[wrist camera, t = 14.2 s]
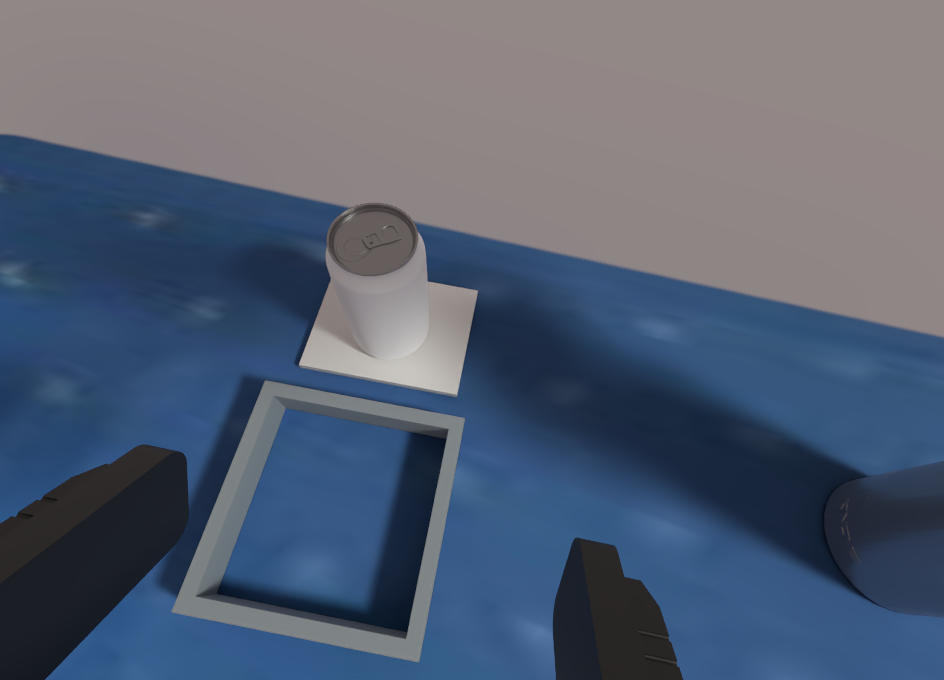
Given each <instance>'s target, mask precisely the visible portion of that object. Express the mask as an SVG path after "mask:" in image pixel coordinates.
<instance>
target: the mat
mask: <svg viewBox="0 0 944 680" xmlns="http://www.w3.org/2000/svg"><path fill="white" fill-rule="evenodd" d="M477 294H478V291H477V290H471V289H466V288H460V287H455V286H449V285H444V284H439V283H433V282H428V301H429V331H428V334H427V337H426V339H425V341H424V342H423V344H422V345H421V346H420V347H419V348H418V349H417V350H416V351H414V352H413V353H411V354H410V355H408V356H405V357H403V358H399V359H392V360H386V359H379V358H376V357H373V356H371V355H369V354H367V353H366V352H365V351H364V350H362V349H361V347H360V346H359V345H358V344H357V342H356V341H355V339H354V337H353V334H352V332H351V329H350V327H349V324H348V322H347V319H346V317H345V314H344V311H343V309H342V306H341V304H340V301H339V298H338V296H337V293H336V290H335V288H334V285H333V282H332V280H331V281H330V283H329V286H328V289H327V291H326V294H325V297H324V299H323V302H322V305H321V307H320V310H319V313H318V315H317V318H316V321H315V323H314V326H313V329H312V331H311V334H310V337H309V339H308V342H307V345H306V347H305V350H304V352H303V355H302V358H301V360H300V363H299V366H300V367H301V368H305V369H310V370H315V371H321V372H326V373H331V374H337V375H342V376H347V377H352V378H358V379H363V380H368V381H374V382H379V383H384V384H390V385H395V386H400V387H405V388H411V389H416V390H421V391H427V392H432V393H437V394H443V395H448V396H453V397H457V393H458V388H459V383H460V378H461V373H462V369H463V364H464V359H465V354H466V349H467V344H468V339H469V334H470V329H471V324H472V319H473V314H474V309H475V304H476V299H477Z"/></svg>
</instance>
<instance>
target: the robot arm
mask: <svg viewBox="0 0 944 680" xmlns="http://www.w3.org/2000/svg"><path fill="white" fill-rule="evenodd" d="M188 516H189V505H188V481H187V461H186V457H185V455H184V454H183V453H181V452H178V451H174V450H169V449H164V448H160V447H155V446H150V445H139V446H137V447H135V448H133V449H132V450H130V451H129V452H128V453H126V454H125V455H123V456H122V457H120V458H119V459H117V460H116V461H114V462H113V463H111V464H110V465H108V464H104V465H102V466H99V467H97V468H94V469H92V470H89V471H87V472H84V473H82V474H79V475H77V476H74V477H72V478H70V479H69V480H67V481H65V482H64V483H62V484H61V485H59V486H58V487H56V488H55V489H53V490H52V491H50V492H48V493H47V494H45V495H44V496H43V498H42V499H41V500H40V501H39V500H36V501H35V502H33V503H32V504H30V505H28V506H27V507H25V508H24V509H22V510H21V511H19V512H18V515H17V516H16V517H12V516H11V517H10V518H8V519H7V520H5V521H4V522H2V523H1V524H0V680H45V679H46V678H47V677H48V676H49V675H50V674H51V673H52V672H53V671H54V670H55V669H56V668H57V667H58V666H59V665H60V663H61V662H62V661H63V660H64V659H65V658H66V657H67V656H68V655H69V654H70V653H71V652H72V651H73V650H74V649H75V648H76V647H77V646H78V645H79V644H80V643H81V642H82V641H83V640H84V639H85V638H86V637H87V636H88V634H89V633H90V632H91V631H92V630H93V629H94V628H95V627H96V626H97V625H98V624H99V623H100V622H101V621H102V620H103V619H104V618H105V617H106V616H107V615H108V614H109V613H110V612H111V611H112V610H113V609H114V608H115V607H116V606H117V604H118V603H119V602H120V601H121V600H122V599H123V598H124V597H125V596H126V595H127V594H128V593H129V592H130V591H131V590H132V589H133V588H134V587H135V586H136V585H137V584H138V583H139V582H140V581H141V580H142V579H143V578H144V577H145V575H146V574H147V573H148V572H149V571H150V570H151V569H152V568H153V567H154V566H155V565H156V564H157V563H158V562H159V561H160V560H161V559H162V558H163V557H164V556H165V555H166V554H167V553H168V552H169V551H170V550H171V549H172V548H173V546H174V545H175V544H176V543H177V542H178V540H179V539H180V537H181V535H182V533H183V532H184V529H185V527H186V524H187V521H188ZM824 530H825V535H826V539H827V543H828V546H829V548H830V551H831V553H832V555H833V557H834V560H835V561H836V563H837V564H838V566H839V568H840V569H841V571H842V572H843V574H844V575H845V576H846V577H847V578H848V580H849V581H850V582H851V583H852V584H853V585H854V587H856V588H857V589H858V590H859V591H860V592H861V593H863V594H864V595H865V596H866V597H867V598H869V599H870V600H872V601H874V602H875V603H877V604H878V605H880V606H882V607H885V608H887V609H889V610H892V611H894V612H899V613H905V614H912V615H921V616H931V617H941V618H944V461H943V462H938V463H933V464H928V465H924V466H919V467H914V468H909V469H904V470H899V471H894V472H889V473H884V474H880V475H875V476H870V477H865V478H860V479H856V480H852V481H849V482H846V483H844V484H842V485H841V486H839V487H837V488H836V490H835V491H834V492H833V493H832V494H831V495H830V497H829V500H828V502H827V504H826V508H825V513H824ZM668 638H669V635H668V632H667V628H666V625H665V622H664V619H663V616H662V613H661V610H660V607H659V606H658V604H657V603H656V601H655V600H654V599H653V597H652V596H651V594H650V593H649V592H648V590H647V589H646V587H645V586H644V585H643V583H642V582H641V581H640V580H635V579H631V578H626V577H624V574H623V570H622V567H621V563H620V559H619V555H618V552H617V549H616V547H615V546H613V545H609V544H604V543H600V542H595V541H590V540H586V539H581V538H575V539H574V541H573V543H572V546H571V549H570V552H569V556H568V559H567V562H566V565H565V569H564V572H563V575H562V578H561V582H560V585H559V588H558V592H557V595H556V599H555V605H554V613H553V640H554V655H555V669H556V680H683V678H682V675H681V672H680V668H679V667H677V659H676V656H675V653H674V650H673V647H672V644H671V642H670V641H669V639H668Z"/></svg>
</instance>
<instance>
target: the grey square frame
mask: <svg viewBox="0 0 944 680" xmlns="http://www.w3.org/2000/svg"><path fill="white" fill-rule="evenodd" d="M286 408H288V409H293V410H298V411H303V412H309V413H314V414H319V415H324V416H330V417H335V418H340V419H345V420H351V421H356V422H361V423H366V424H371V425H377V426H382V427H387V428H392V429H398V430H403V431H408V432H413V433H419V434H424V435H429V436H434V437H440V438H445V439H447V440H446V445H445V450H444V455H443V460H442V465H441V470H440V475H439V480H438V485H437V489H436V494H435V499H434V504H433V509H432V514H431V519H430V524H429V529H428V534H427V539H426V544H425V549H424V553H423V558H422V563H421V568H420V573H419V578H418V583H417V588H416V593H415V598H414V603H413V608H412V612H411V617H410V622H409V627H408V632H404V631H399V630H394V629H389V628H384V627H379V626H374V625H369V624H364V623H359V622H354V621H349V620H344V619H339V618H334V617H329V616H324V615H319V614H314V613H309V612H304V611H299V610H294V609H289V608H284V607H279V606H274V605H270V604H265V603H260V602H255V601H250V600H245V599H240V598H235V597H230V596H225V595H220V594H217V592H218V589H219V586H220V584H221V581H222V578H223V576H224V573H225V570H226V568H227V565H228V562H229V559H230V557H231V554H232V551H233V549H234V546H235V543H236V541H237V538H238V535H239V533H240V530H241V527H242V525H243V522H244V519H245V516H246V514H247V511H248V508H249V506H250V503H251V500H252V498H253V495H254V492H255V490H256V487H257V484H258V482H259V479H260V476H261V473H262V471H263V468H264V465H265V463H266V460H267V457H268V455H269V452H270V449H271V447H272V444H273V441H274V439H275V436H276V433H277V431H278V428H279V425H280V422H281V420H282V417H283V414H284V412H285V409H286ZM464 421H465V418H461V417H456V416H450V415H445V414H440V413H435V412H429V411H424V410H419V409H413V408H408V407H403V406H398V405H392V404H387V403H382V402H377V401H371V400H366V399H361V398H356V397H350V396H345V395H340V394H334V393H329V392H324V391H319V390H313V389H308V388H303V387H298V386H292V385H287V384H282V383H276V382H271V381H266V380H265V382H264V384H263V387H262V389H261V392H260V394H259V397H258V399H257V402H256V404H255V407H254V409H253V412H252V414H251V417H250V419H249V422H248V424H247V426H246V429H245V431H244V434H243V436H242V439H241V441H240V444H239V446H238V449H237V451H236V454H235V456H234V459H233V461H232V464H231V466H230V468H229V471H228V473H227V476H226V478H225V481H224V483H223V486H222V488H221V491H220V493H219V496H218V498H217V501H216V503H215V506H214V508H213V511H212V513H211V515H210V518H209V520H208V523H207V525H206V528H205V530H204V533H203V535H202V538H201V540H200V543H199V545H198V548H197V550H196V553H195V555H194V557H193V560H192V562H191V565H190V567H189V570H188V572H187V575H186V577H185V580H184V582H183V585H182V587H181V590H180V592H179V595H178V597H177V600H176V602H175V604H174V607H173V609H172V612H173V613H178V614H183V615H188V616H193V617H198V618H203V619H207V620H212V621H217V622H222V623H227V624H232V625H237V626H242V627H247V628H252V629H257V630H262V631H267V632H272V633H276V634H281V635H286V636H291V637H296V638H301V639H306V640H311V641H316V642H321V643H326V644H331V645H336V646H340V647H345V648H350V649H355V650H360V651H365V652H370V653H375V654H380V655H385V656H390V657H395V658H400V659H405V660H409V661H414V662H419V659H420V655H421V650H422V644H423V639H424V634H425V629H426V623H427V618H428V613H429V607H430V602H431V597H432V592H433V586H434V581H435V576H436V570H437V565H438V560H439V555H440V549H441V544H442V539H443V533H444V528H445V523H446V517H447V512H448V507H449V502H450V496H451V491H452V486H453V480H454V475H455V470H456V465H457V459H458V454H459V449H460V443H461V438H462V433H463V427H464Z"/></svg>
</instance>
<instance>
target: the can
mask: <svg viewBox="0 0 944 680" xmlns="http://www.w3.org/2000/svg"><path fill="white" fill-rule="evenodd" d="M326 242H327V248H326V264H327V268H328V271H329V274H330V277H331V280H332V282H333V285H334V288H335V290H336V293H337V296H338V298H339V301H340V304H341V306H342V309H343V311H344V314H345V317H346V319H347V322H348V324H349V327H350V329H351V332H352V334H353V337H354V339H355V341H356V342H357V344H358V345H359V346H360V347H361V349H362V350H364V351H365V352H366V353H367V354H369V355H371V356H373V357H376V358H379V359H386V360H392V359H399V358H403V357H405V356H408V355H410V354H411V353H413V352H414V351H416V350H417V349H418V348H419V347H420V346H421V345H422V344H423V342H424V341H425V339H426V337H427V334H428V331H429V301H428V281H427V264H426V251H425V246H424V242H423V240H422V238H421V236H420V234H419V233H418V231H417V228H416V225H415V223H414V222H413V220H412V219H411V218H410V217H409V216H408V215H407V214H406V213H405V212H404V211H402V210H400V209H398V208H397V207H394V206H391V205H388V204H382V203H366V204H361V205H357V206H354V207H352V208H350V209H348V210H346V211H344V212H343V213H341V214H340V215H339V216H338V217H337V218H336V219H335V220H334V221H333V223H332V224H331V226H330V228H329V230H328V233H327V240H326Z"/></svg>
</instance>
